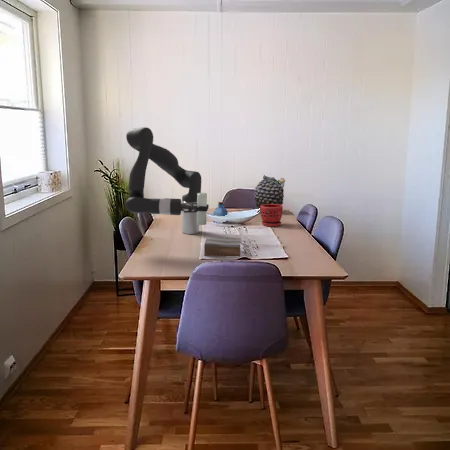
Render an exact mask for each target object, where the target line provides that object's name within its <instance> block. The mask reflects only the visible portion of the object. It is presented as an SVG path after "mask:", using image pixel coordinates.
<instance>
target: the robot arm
mask: <svg viewBox="0 0 450 450" xmlns="http://www.w3.org/2000/svg"><path fill="white" fill-rule="evenodd" d="M125 136H126V137H125V138H126V142H127V143H128V144H129V146H130V147H131V148H132V149H134V150H136V151H137V152H138V156H137V157H136V160H135V163H134V164H133V165H132V167H131V169H130V172H129V173H130V174H129V177H128V179H129V180H128V191H129V197H128V198H127V199H126V200H125V203H124V205H125V209H126V210H127V211H128V212H130V213H131V214H133V215H136V214H137V215H138V214H140V213H146V214H150V215H151V214H152V215H164V216H165V215H166V216H180V215H181V234H182V233H183V234H186V235H196V234H199V233H200V225H198V224H197V212H199V211H207V212H208V209H209V206H210V205H209V204H208V203H207V206H197V193H202V175H201V174H200V172H198V171H196V170H195V171H194V170H186V169H184V167H181V166H180V164H179V160H178V158H177V157H176V156H175V155H174V153H172V152H171V151H170V150H169V149H167V148H165V147H162V146H161V145H157V144H155V143H154V133H153V131H152V129H151V128H150V127H147V126H146V127H145V126H144V127H136V128H131V129H129V130H128V131H127V133H126V134H125ZM149 160H150V161H151V162H152V163H154V164H155V165H157V167H159V169H161V170H162V171H163V172H165V173H167V174H168V175H169V176H171V177H172V178H173V179H174V180H175V182H177V183H178V184H179V185H180V186H181V187H182V188H185V189H188V193H186V194H183V195H182V197H181V198H172V197H171V198H169V197H168V198H166V197H165V198H147V197H145V194H144V189H145V184H146V183H145V182H146V181H145V180H146V173H147V166H148V165H149V164H148V163H149Z"/></svg>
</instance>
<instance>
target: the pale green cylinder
mask: <svg viewBox="0 0 450 450" xmlns="http://www.w3.org/2000/svg"><path fill="white" fill-rule="evenodd" d="M207 204H208V193H206V192H201V193H197V206H207ZM207 213H208V211H199V212H197V224H198V225H199V226H204V225H207V219H208V218H207V216H208V214H207Z"/></svg>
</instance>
